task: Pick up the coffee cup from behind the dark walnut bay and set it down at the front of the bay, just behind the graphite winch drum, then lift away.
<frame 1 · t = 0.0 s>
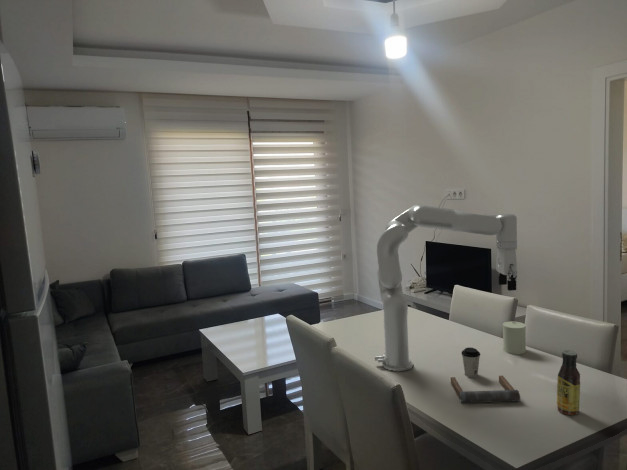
hand: (507, 287, 176), 31 cm above the table, tool pointing down, fingers open, 9 cm apart
can: (514, 350, 191), on the table
bay: (481, 390, 157), on the table
coffee cup: (471, 375, 170), on the table
sauce bottle: (568, 412, 140), on the table
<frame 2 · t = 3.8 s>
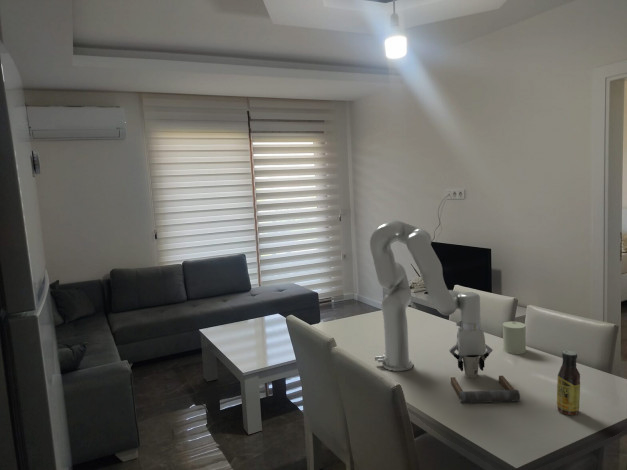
hand: (471, 369, 170), 2 cm above the table, tool pointing down, fingers closed on coffee cup, 7 cm apart
coffee cup: (471, 375, 170), on the table, touching gripper
everything else where it was.
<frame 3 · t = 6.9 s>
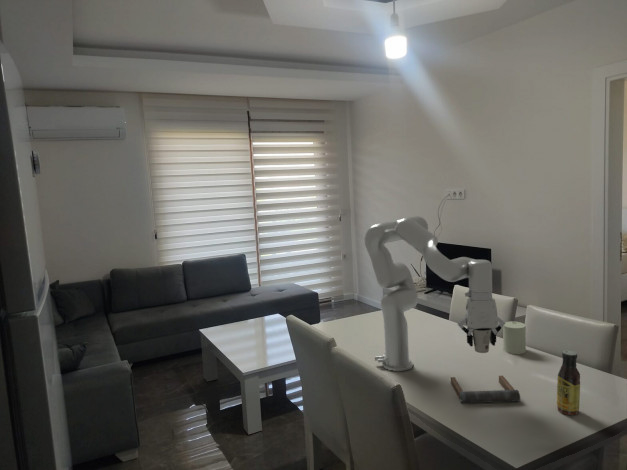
hand: (481, 344, 155), 17 cm above the table, tool pointing down, fingers closed on coffee cup, 7 cm apart
coffee cup: (481, 351, 155), point 15 cm above the table, touching gripper
everything else where it was.
when the fingers open (4 cm above the table, at t = 10.3 s): coffee cup drops 1 cm, on the table.
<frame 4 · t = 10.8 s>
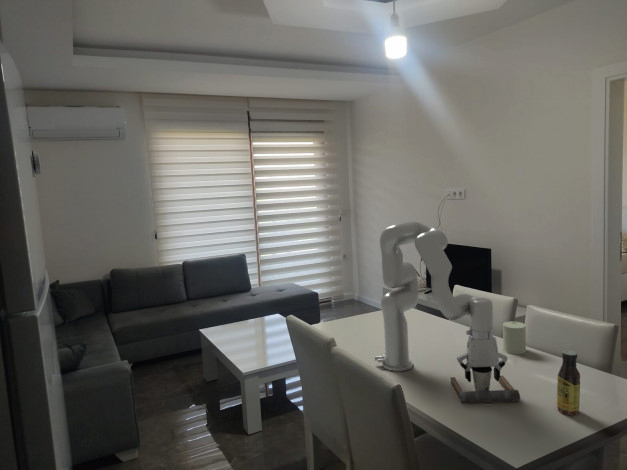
hand: (482, 380, 156), 4 cm above the table, tool pointing down, fingers open, 9 cm apart
coffee cup: (482, 392, 157), on the table
everything else where it was.
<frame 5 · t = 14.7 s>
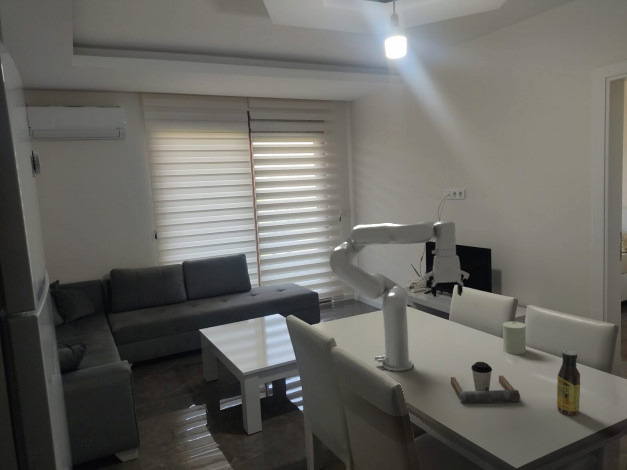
hand: (447, 295, 173), 30 cm above the table, tool pointing down, fingers open, 9 cm apart
nothing on the table moved.
at the end: coffee cup inside the target area (0.6 cm from its centre), on the table; coffee cup tilted 0°; the gripper is holding nothing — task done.
